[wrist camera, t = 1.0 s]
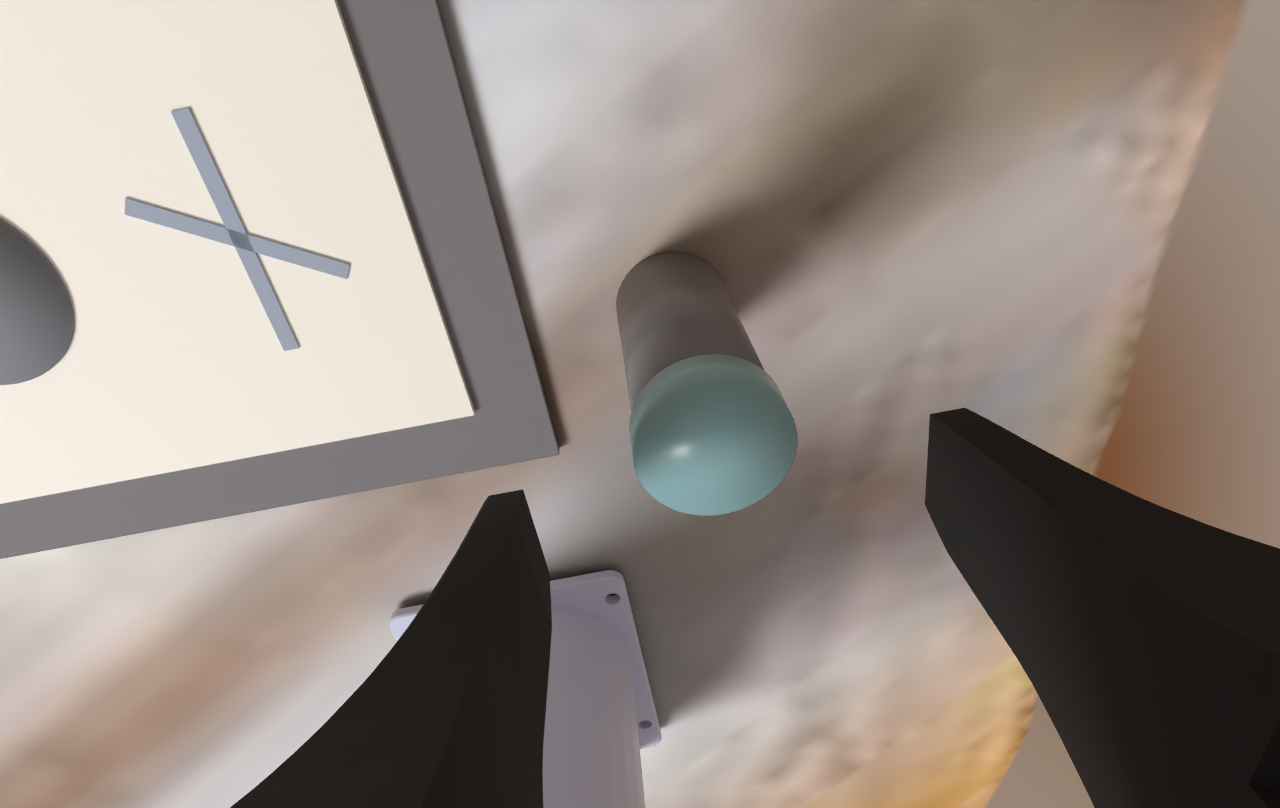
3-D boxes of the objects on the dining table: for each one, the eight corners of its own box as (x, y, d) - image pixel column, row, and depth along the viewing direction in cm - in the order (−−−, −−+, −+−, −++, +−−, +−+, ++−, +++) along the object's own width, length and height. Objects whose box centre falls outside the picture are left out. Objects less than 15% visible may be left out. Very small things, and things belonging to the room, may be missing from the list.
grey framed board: (559, 449, 22) (559, 460, 22) (-85, 569, 23) (-100, 583, 22) (373, -232, 14) (366, -239, 14) (-652, -31, 14) (-697, -31, 14)
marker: (734, 344, 21) (801, 499, 15) (623, 365, 21) (647, 528, 15) (722, 237, 19) (792, 364, 14) (602, 260, 20) (619, 396, 14)
